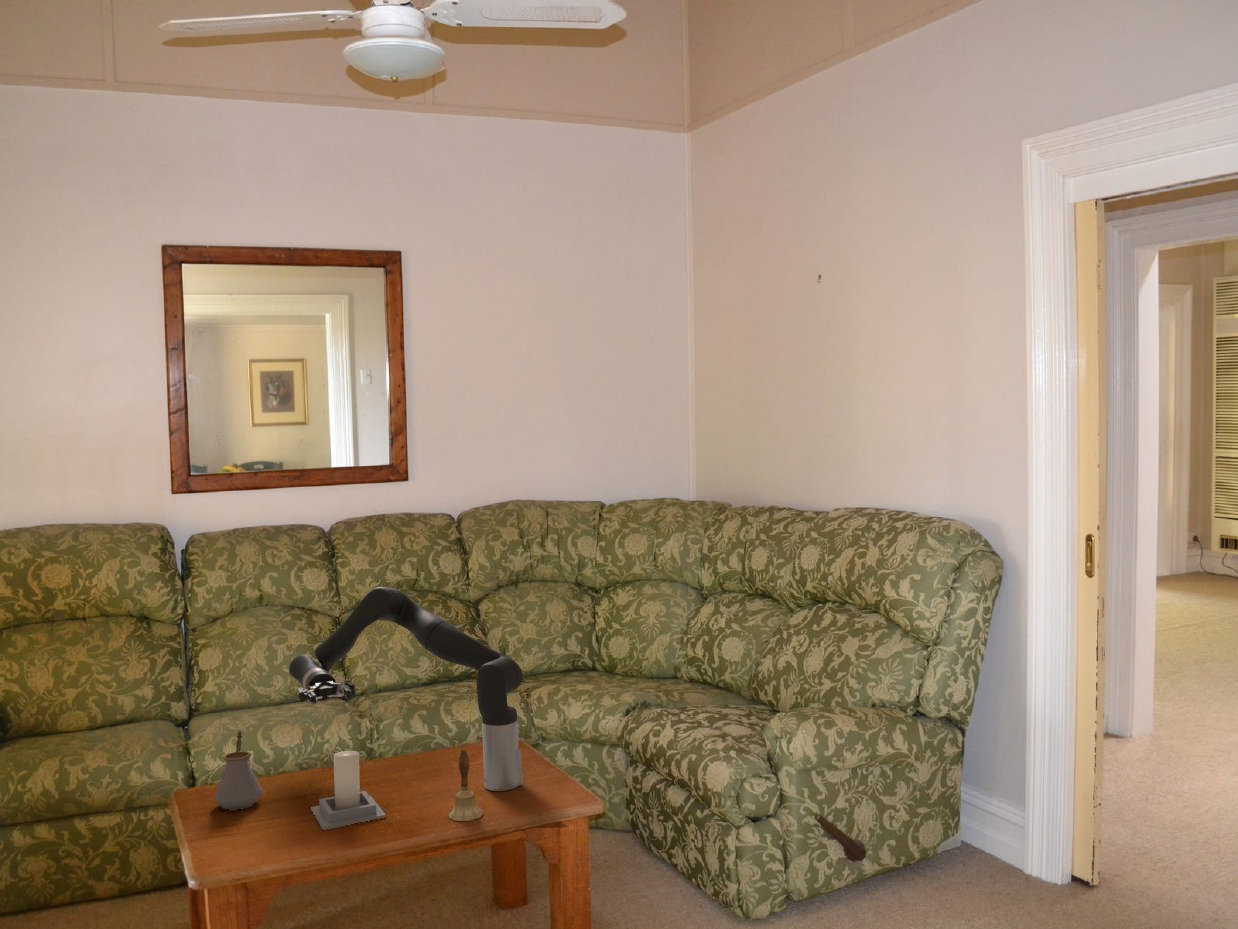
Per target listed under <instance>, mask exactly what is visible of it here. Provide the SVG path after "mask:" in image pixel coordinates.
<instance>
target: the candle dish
mask: <svg viewBox="0 0 1238 929" xmlns="http://www.w3.org/2000/svg"><path fill="white" fill-rule="evenodd" d="M318 801H319V805H315V806H314V805H313V806H311V807H310V810H311V812H313V813H312V815H313V816H314V815H315V816H314V818H315V819H316V821H317V822H319V823H318V824H319V825H320V827H321V829H322V831H327V829H328V830H333V829H337V828H342V826H343V827H346V826H345V825H348V826H352V825H351V824H353V823H357V822H361V821H368V822H371V821H370V820H373V819H377V818H383V819H386V818H387V816H386V813H385V812H384V810H382V808H381V806H380V805H379V804H378V802H376V800H375V799H374V798H373V797H372V796H371V795H369V794H368V792H367V791H366V790H362V791H361V790H360V806H359V807H354V808H348V809H343V810H338V811H335V795H334V796H331V797H325V798H319V799H318ZM385 817H386V818H385ZM373 821H374V820H373ZM353 825H354V824H353ZM332 828H333V829H332Z"/></svg>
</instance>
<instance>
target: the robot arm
mask: <svg viewBox="0 0 1238 929" xmlns="http://www.w3.org/2000/svg"><path fill="white" fill-rule="evenodd" d="M377 621H386V622H392V623H394V624H397V625H399V626H400V627H402V628H404V629H406V630H408V631H409V632H410V633H411V634H412V635H413V637H414V638H415V639H416V640H417V642H418V643H419V644H420V646H421V647H422V648H424V649H425V650H426V651H427V652H429V653H430V654H432V655H434V656H435V657H437V658H439V659H441V660H443V661H445V662H448V663H452V664H455V665H458V666H459V665H460V666H462V667H463V666H464V667H467V668H471V669H473V670H476V671H477V674H476V682H475V683H476V694H477V706H478V711H479V713H480V716H481V728H482V729H481V730H482V734H481V735H482V757H483V763H482V764H483V787H484V788H485V789H486V790H488V791H494V792H503V791H504V792H505V791H510V790H514V789H516V788H517V787H520V786H522V785H523V768H522V767H523V766H522V750H521V748H519V734H518V733H519V730H518V711H517V709H516V708H515V707H514V706H511V705H509V704H508V697H507V694H509V693H511V692H513V691H515V690H516V689H518V688H519V687H520V686H521V684H522V683H523V680H524V679H523V671H522V669H521V667H520V665H519V664H518V663H517V661H515V660H514V659H512V658H511V657H509V656H507V655H505V654H503V653H500V652H498V651H496V650H495V649H492V648H490V647H488V646H486V645H484V644H483V643H481V642H480V641H478V640H477V639H475V638H474V637H472V636H470V635H468V634H467V633H465V632H463V631H462V630H460V629H459V628H458V627H456V626H454V625H453V624H451V623H450V622H448V621H446V620H444V619H442V618H441V617H439V616H437V615H436V614H434V613H432V612H430V611H428V610H426V609H424V608H423V607H422V606H420V605H419V604H417V603H416V602H415V601H413V599H411V597H409V596H407V594H405V593H404V592H402V590H399V589H398V588H393V587H385V586H377V587H374V588H372V589H370V591H368V592H367V593H366V594H365V596H364V597H363V598H362V599H361V600H360V602H359V603H358V604H357V606H356V607H355V608H354V609H353V611H352V612H351V613H350V614H349V615H348V617H347V618H346V619H345V620H344V621H343V622H342V624H341V625H339V627H337V628H336V630H335V631H333V633H331V634H330V635H329V636H328V637H326V638H325V639H324V640H323V641H322V642H321V643H320V644H319V645H318V646H317V647H316V648H315V649H314V655H315V658H316V659H317V661H318V662H317V661H315V659H313V658H312V657H311V656H309V655H308V654H304V653H303V654H299V655H297V656H295V657H294V658H293V659H292V660H291V661H290V664H289V667H288V672H289V675H290V676H291V677H292V678H294V679H295V680H296V681H298V683H300V684H301V685H302V687H301V686H299V687H296V689H297V690H296V691H297V699H298V700H299V702H300V703H304V702H305V700H307V702H309V703H311V704H317V701H318V702H325V701H327V700H329V699H331V698H332V697H334V698H340V697H342V696H343V697H344V698H345V699H346V700H347V699H350V697H352V696H353V695H356V689H355V688H356V684H354V683H353V682H351V681H350V680H345V681H344V683H343V684H342V683H341V682H337V681H336V679H335V677H334V676H333V675H332V674H331V673H330V671H331V670H332V669H333V667H334V666H335V665H336V664H338V662H339V661H341V659H343V658H344V657H345V656H346V655H347V654H349V653H350V651H351V650H352V649H353V648H354V646H355V645H356V643H357V640H358V638H359V637H360V635H361V633H363V631H364V630H365V629H367V627H369V626H370V625H372V624H373V623H375V622H377Z"/></svg>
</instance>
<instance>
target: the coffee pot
mask: <svg viewBox="0 0 1238 929" xmlns="http://www.w3.org/2000/svg"><path fill="white" fill-rule="evenodd" d="M242 733H243V734H244V735H242ZM245 735H246V734H245V732H243V731H241V730H239V731H238V732H235V736H236V739H237V740H236V751H234V752H230V753H226V754H225V755H224V756H223V760H224V761H225V763H226V765H225V768H224V770H223V773H222V775H221V778H220V781H219V783H218V786H217V789H216V790H215V791H216V792H215V794H214V800H215V803H216V804H217V805H219V806H220V807H222V808H223V809H224V808H226V809H229V810H228V811H238V810H237V809H241V810H243V809H242V808H245V809H248V808H251V807H252V806H251V805H253V804H254V803H255V804H256V802H257V801H258V800H259V799H260V798H261V796H262V793H263V789H262V787H261V785H260V782H259V781H258V779H257V777H256V775H255V774H254V771H253V770H252V768H251V766H250V764H249V760H250V757H251V756H252V753H251V752H248V751H242V738H243V737H244V736H245ZM255 804H254V805H255ZM254 805H253V806H254ZM250 806H251V807H250ZM226 809H225V810H226Z"/></svg>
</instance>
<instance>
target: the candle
mask: <svg viewBox="0 0 1238 929" xmlns="http://www.w3.org/2000/svg"><path fill="white" fill-rule="evenodd" d="M333 775H334V776H333V779H334V784H333V785H334V796H335V811H338V810H343V809H348V808H354V807H359V806H360V792H361V790H360V789H361V788H360V785H361V784H360V780H361V779H360V752H359V751H356V750H343V751H338V752H336V753H334V754H333Z"/></svg>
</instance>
